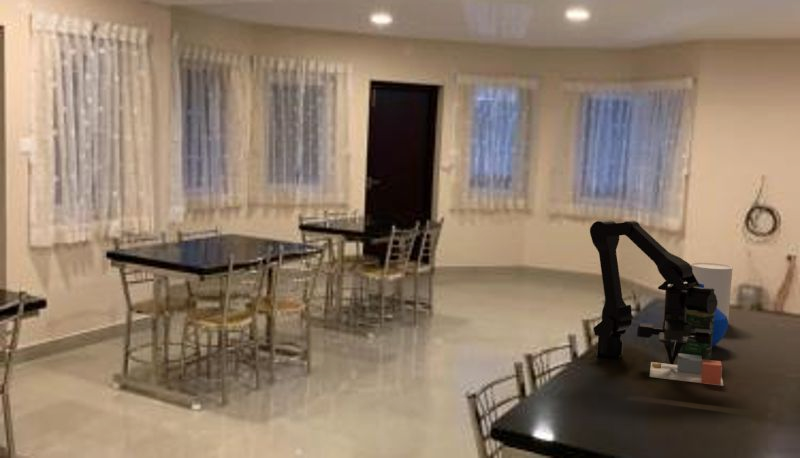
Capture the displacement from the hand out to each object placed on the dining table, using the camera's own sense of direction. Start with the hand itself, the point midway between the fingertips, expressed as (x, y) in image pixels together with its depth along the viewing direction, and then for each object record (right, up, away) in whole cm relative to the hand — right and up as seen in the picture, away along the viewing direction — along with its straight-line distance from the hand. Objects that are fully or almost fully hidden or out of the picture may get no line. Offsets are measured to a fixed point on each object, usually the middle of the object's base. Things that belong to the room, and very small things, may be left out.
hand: (671, 364), depth 215 cm
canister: (+35, +4, +64) cm, 73 cm away
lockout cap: (+6, -3, -11) cm, 13 cm away
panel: (+2, -3, -4) cm, 5 cm away
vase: (+18, +1, +31) cm, 35 cm away
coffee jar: (+12, -1, +14) cm, 18 cm away
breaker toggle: (+4, -1, -1) cm, 5 cm away
